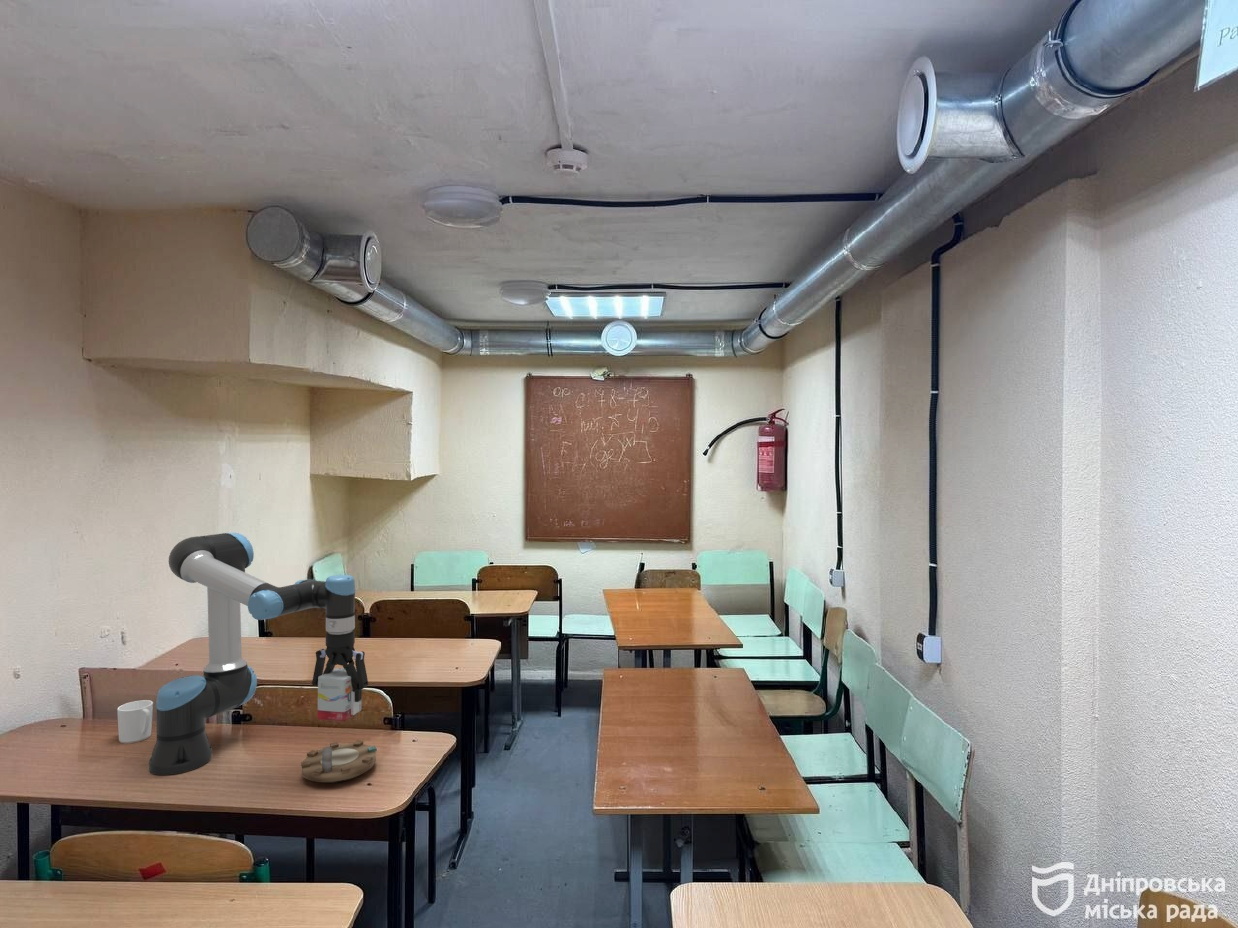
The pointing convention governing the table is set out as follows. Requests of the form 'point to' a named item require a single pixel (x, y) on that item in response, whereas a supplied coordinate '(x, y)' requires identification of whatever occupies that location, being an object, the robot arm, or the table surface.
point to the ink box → (335, 696)
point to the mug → (135, 721)
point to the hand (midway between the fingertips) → (340, 711)
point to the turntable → (338, 762)
